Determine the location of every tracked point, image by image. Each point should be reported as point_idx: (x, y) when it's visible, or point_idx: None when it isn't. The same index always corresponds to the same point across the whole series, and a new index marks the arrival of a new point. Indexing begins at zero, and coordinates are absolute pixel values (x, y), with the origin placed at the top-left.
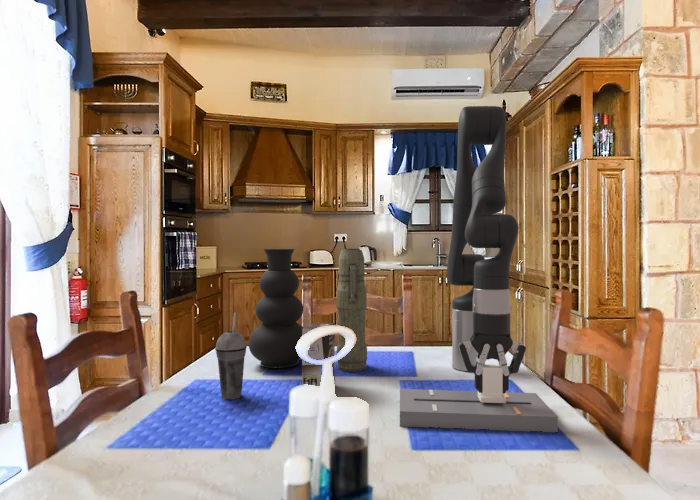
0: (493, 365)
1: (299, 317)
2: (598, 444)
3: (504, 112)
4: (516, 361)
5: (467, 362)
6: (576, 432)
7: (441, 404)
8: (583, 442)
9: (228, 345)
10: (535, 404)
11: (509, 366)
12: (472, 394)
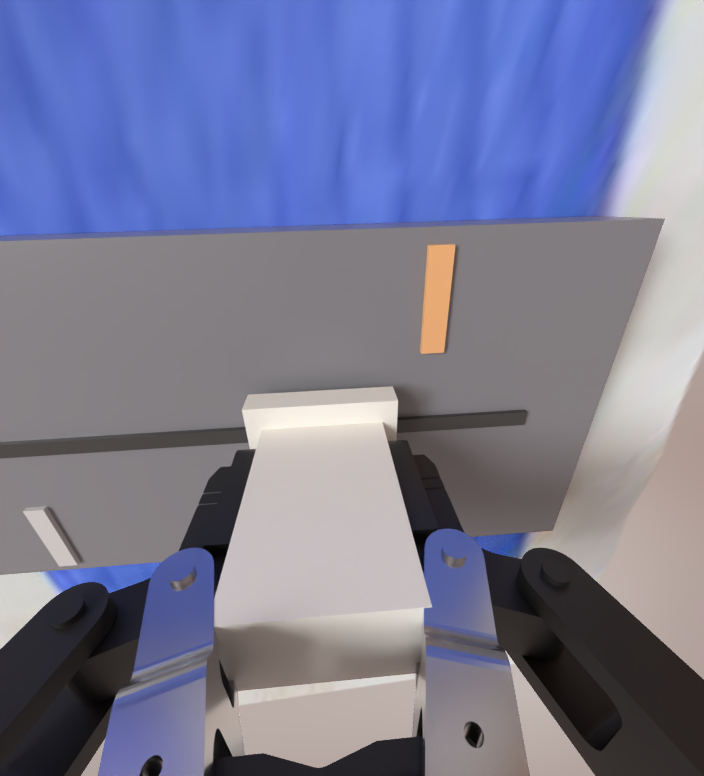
0: (352, 632)
1: None
2: (590, 532)
3: None
4: (591, 751)
5: (46, 772)
6: (584, 475)
7: (69, 492)
8: (557, 528)
9: None
10: (540, 423)
11: (512, 625)
12: (217, 312)
